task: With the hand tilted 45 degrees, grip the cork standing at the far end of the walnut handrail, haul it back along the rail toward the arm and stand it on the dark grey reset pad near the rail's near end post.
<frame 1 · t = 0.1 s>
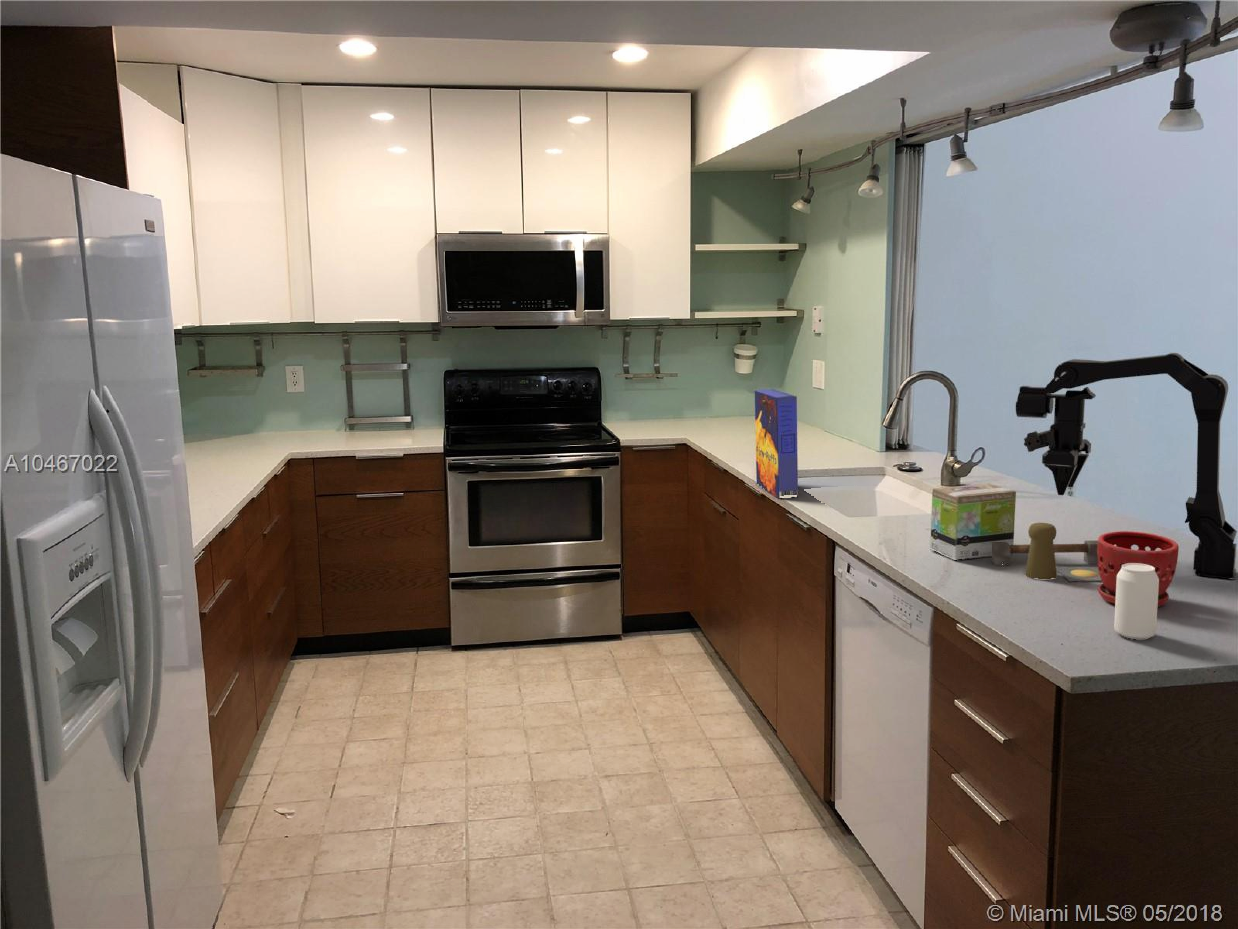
hand: (1065, 490, 203), 15 cm above the worktop, tool pointing down, fingers open, 9 cm apart
beverage can: (1134, 636, 159), on the worktop
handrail: (1046, 563, 201), on the worktop
plant pot: (1134, 602, 175), on the worktop
cereal box: (776, 491, 285), on the worktop
cork: (1040, 576, 193), on the worktop
reset pad: (1084, 575, 192), on the worktop
tea box: (971, 553, 211), on the worktop
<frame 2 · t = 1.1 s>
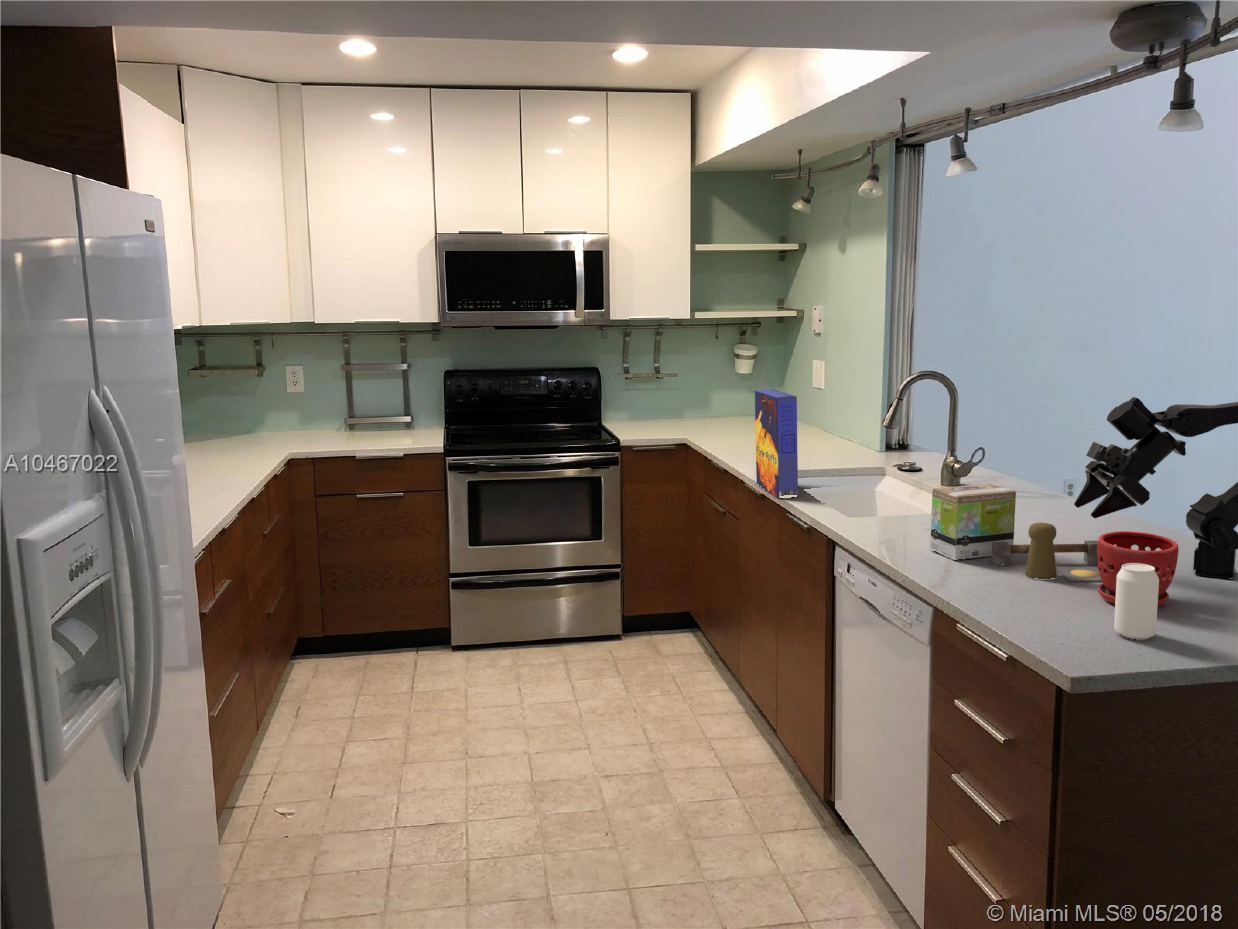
hand: (1083, 511, 189), 13 cm above the worktop, tool tilted 45°, fingers open, 9 cm apart
nothing on the worktop moved.
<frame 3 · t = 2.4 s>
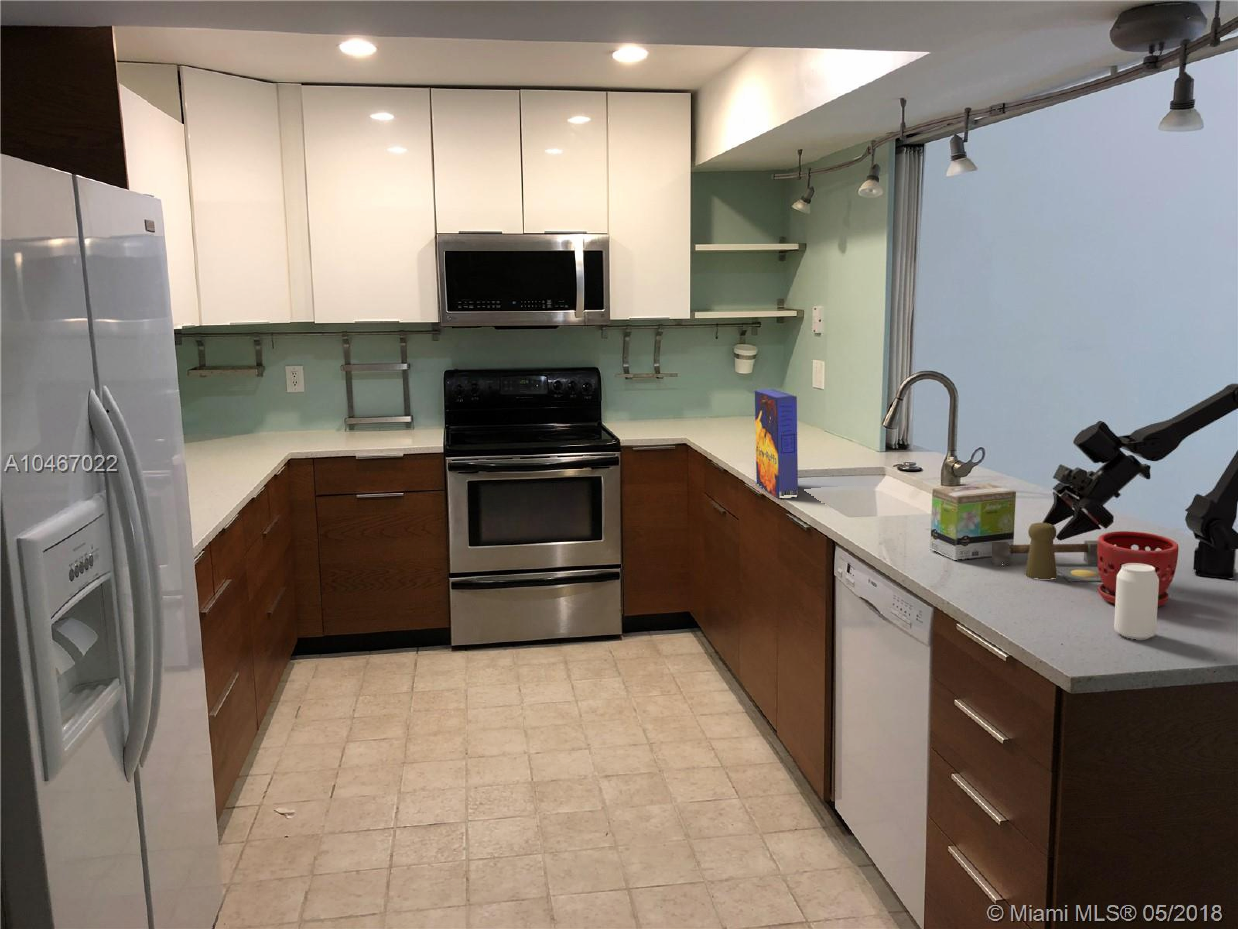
hand: (1049, 533, 191), 9 cm above the worktop, tool tilted 45°, fingers open, 9 cm apart
nothing on the worktop moved.
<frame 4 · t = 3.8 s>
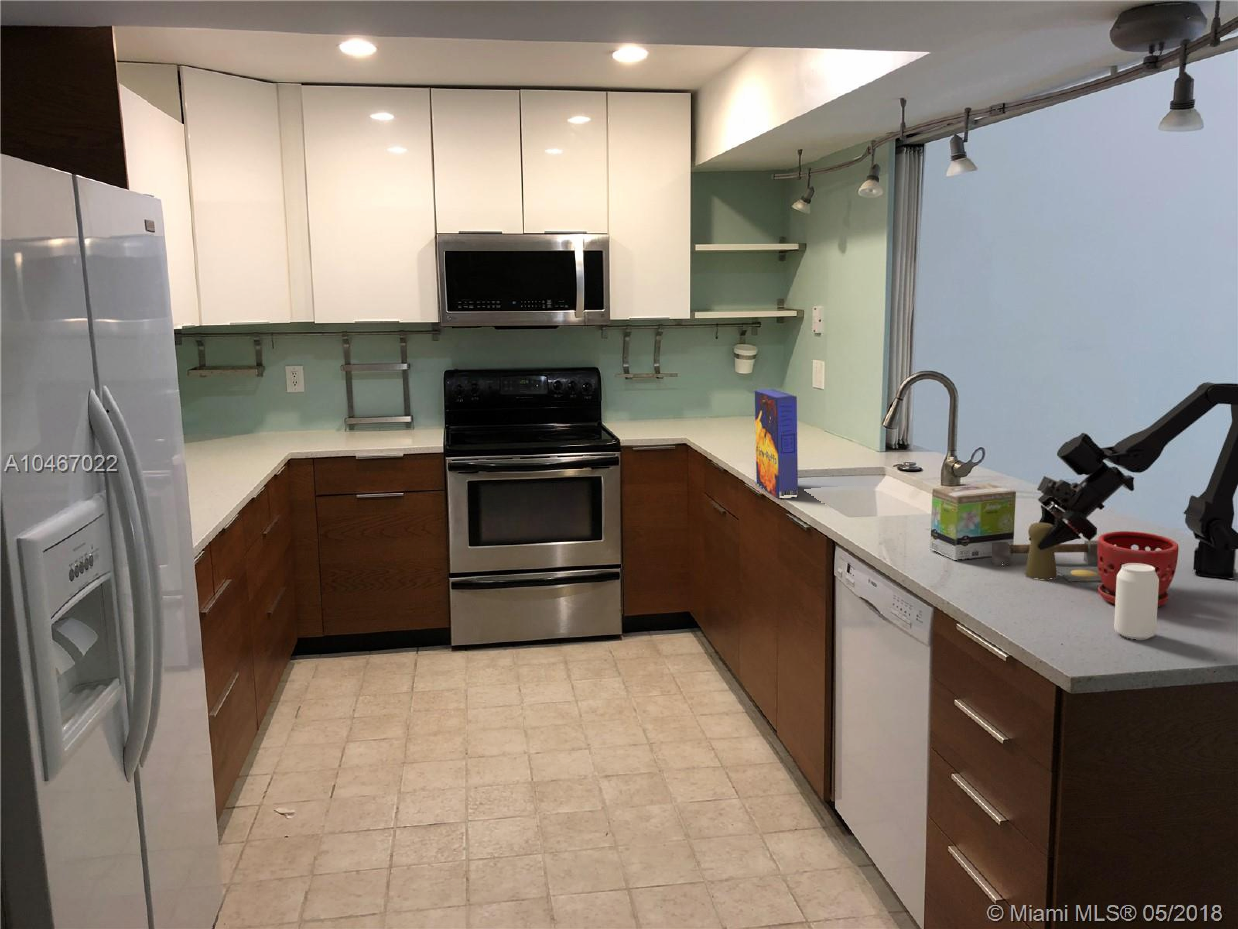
hand: (1034, 544, 192), 7 cm above the worktop, tool tilted 45°, fingers closed on cork, 5 cm apart
cork: (1040, 576, 193), on the worktop, touching gripper
everything else where it was.
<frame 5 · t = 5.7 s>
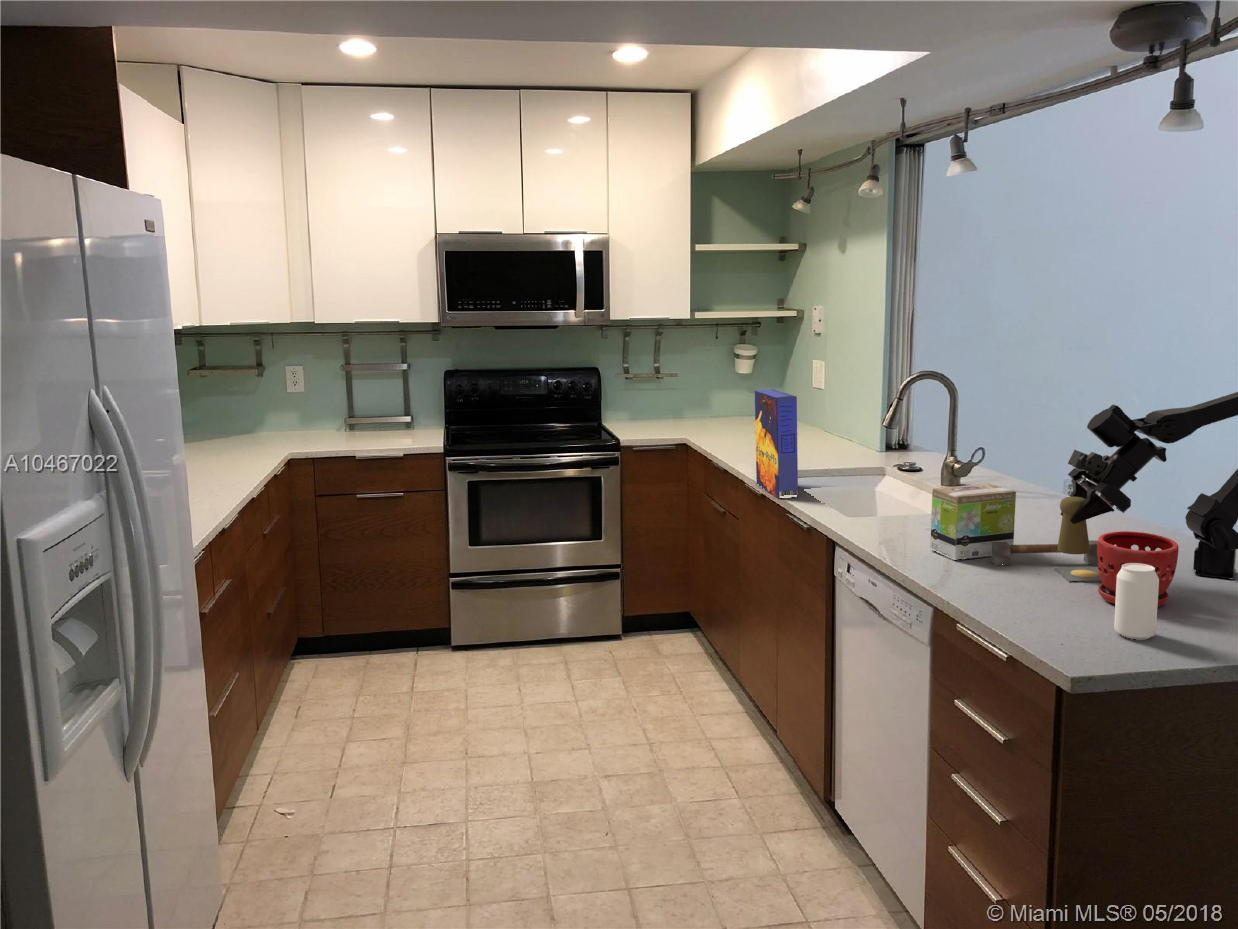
hand: (1066, 519, 190), 12 cm above the worktop, tool tilted 45°, fingers closed on cork, 5 cm apart
cork: (1073, 551, 191), point 5 cm above the worktop, touching gripper
everything else where it was.
when the fingers open (8 cm above the worktop, at t = 7.5 s): cork stays where it is, resting on reset pad.
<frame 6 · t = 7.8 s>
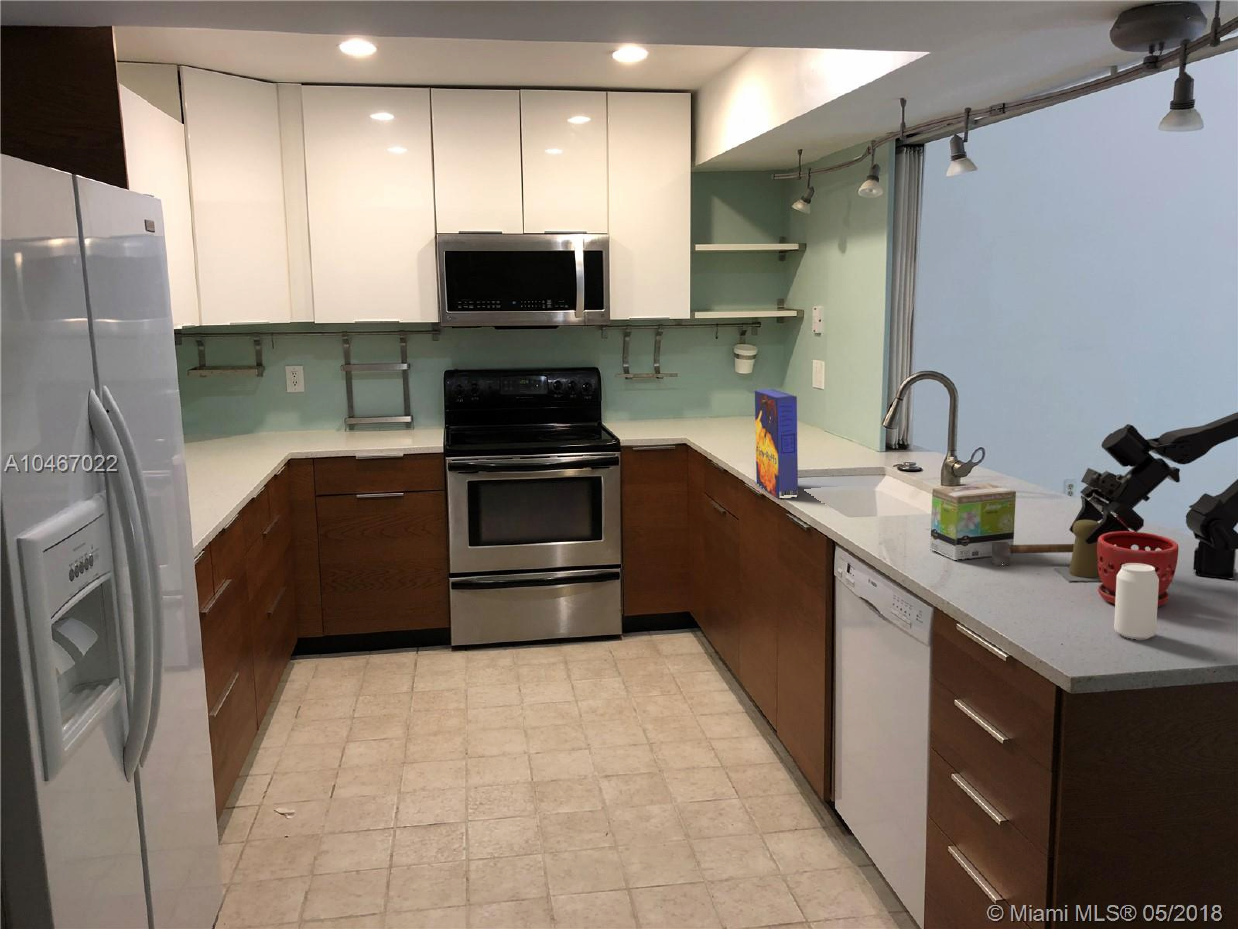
hand: (1078, 537, 190), 8 cm above the worktop, tool tilted 45°, fingers open, 8 cm apart
cork: (1085, 574, 192), resting on reset pad
everything else where it was.
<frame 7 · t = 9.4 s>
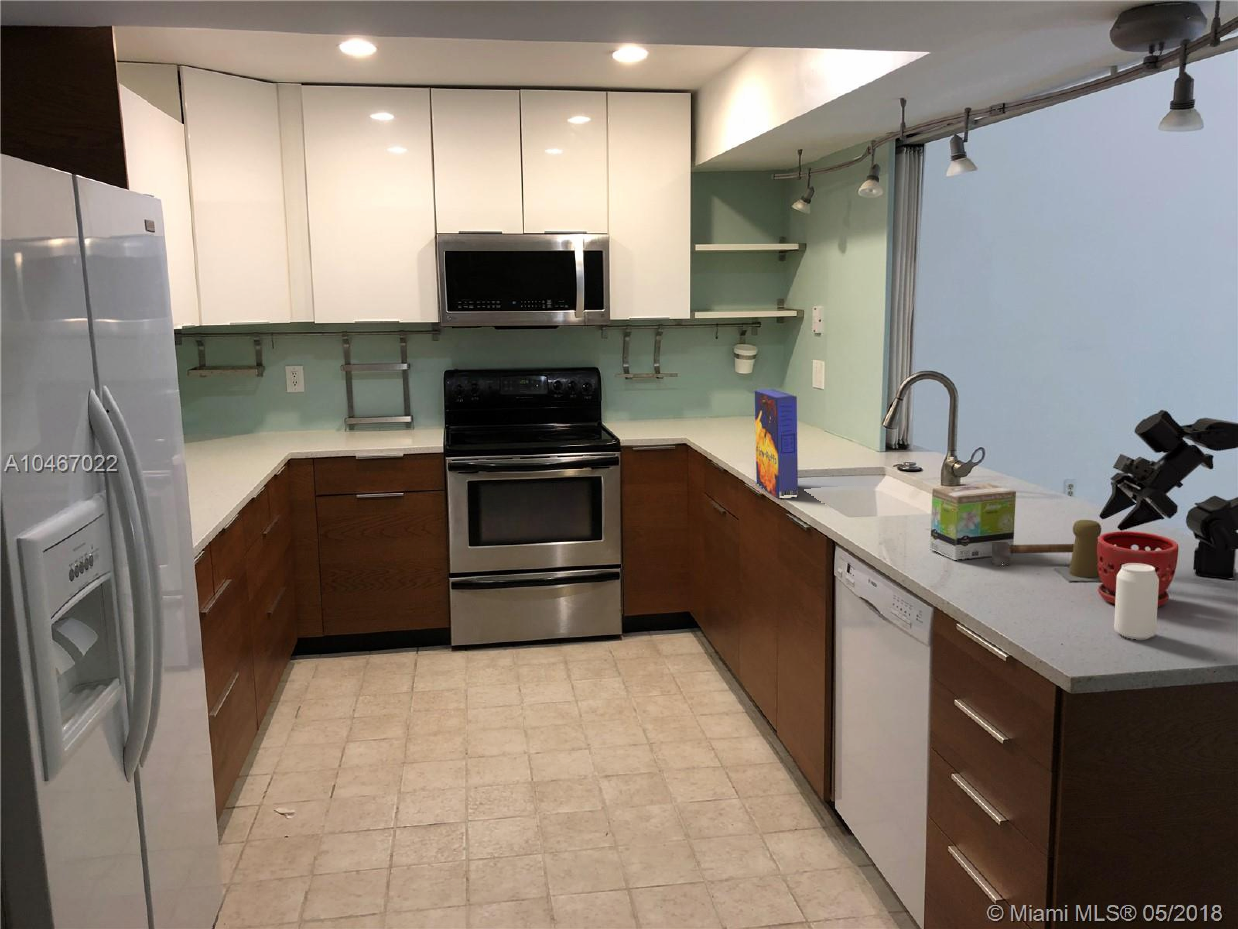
hand: (1109, 523, 189), 11 cm above the worktop, tool tilted 45°, fingers open, 9 cm apart
nothing on the worktop moved.
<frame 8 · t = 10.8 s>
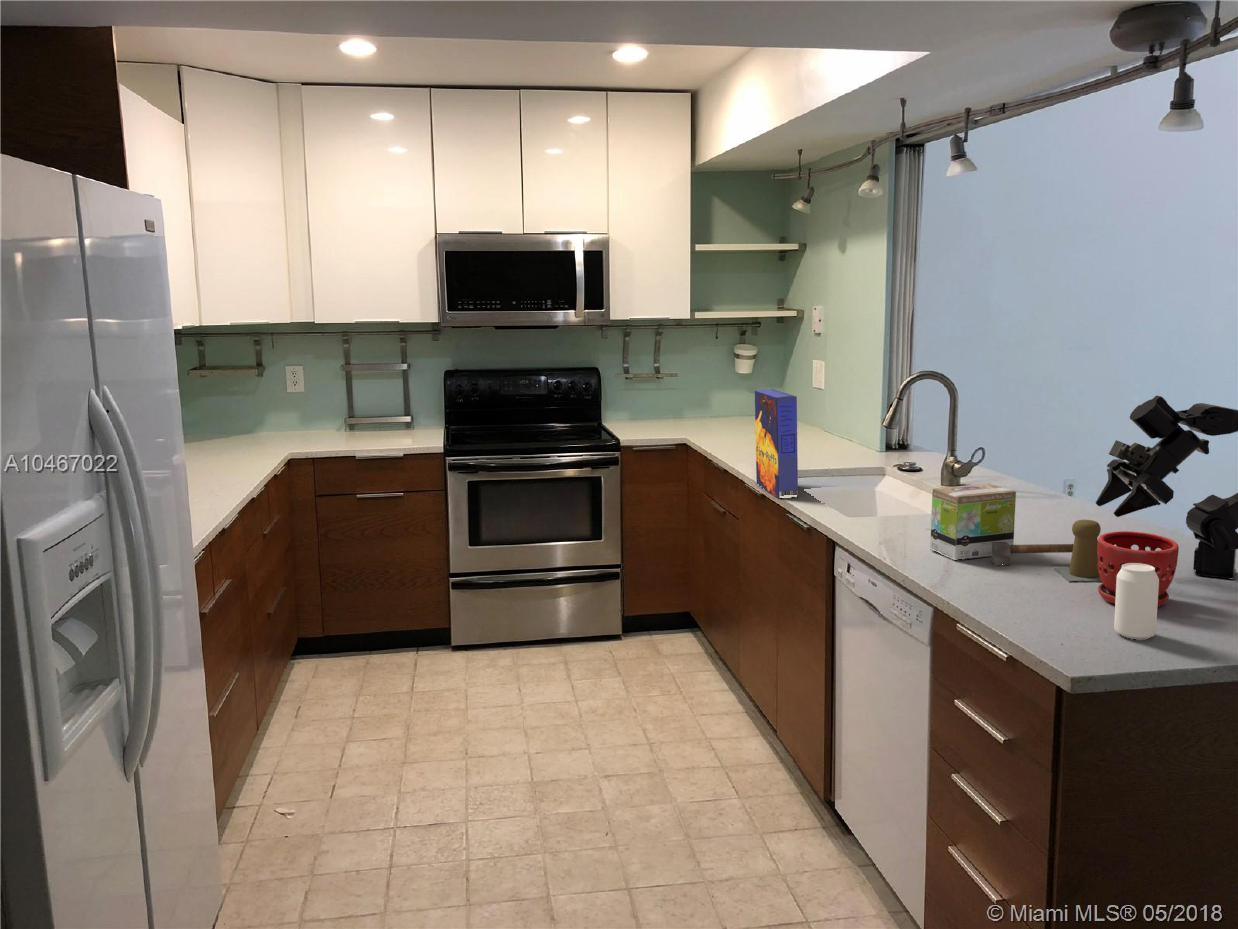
hand: (1106, 510, 189), 14 cm above the worktop, tool tilted 45°, fingers open, 9 cm apart
nothing on the worktop moved.
at the end: cork inside the target area on the reset pad (0.2 cm from its centre), point 0.3 cm above the reset pad's base; cork tilted 2°; the gripper is holding nothing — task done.
